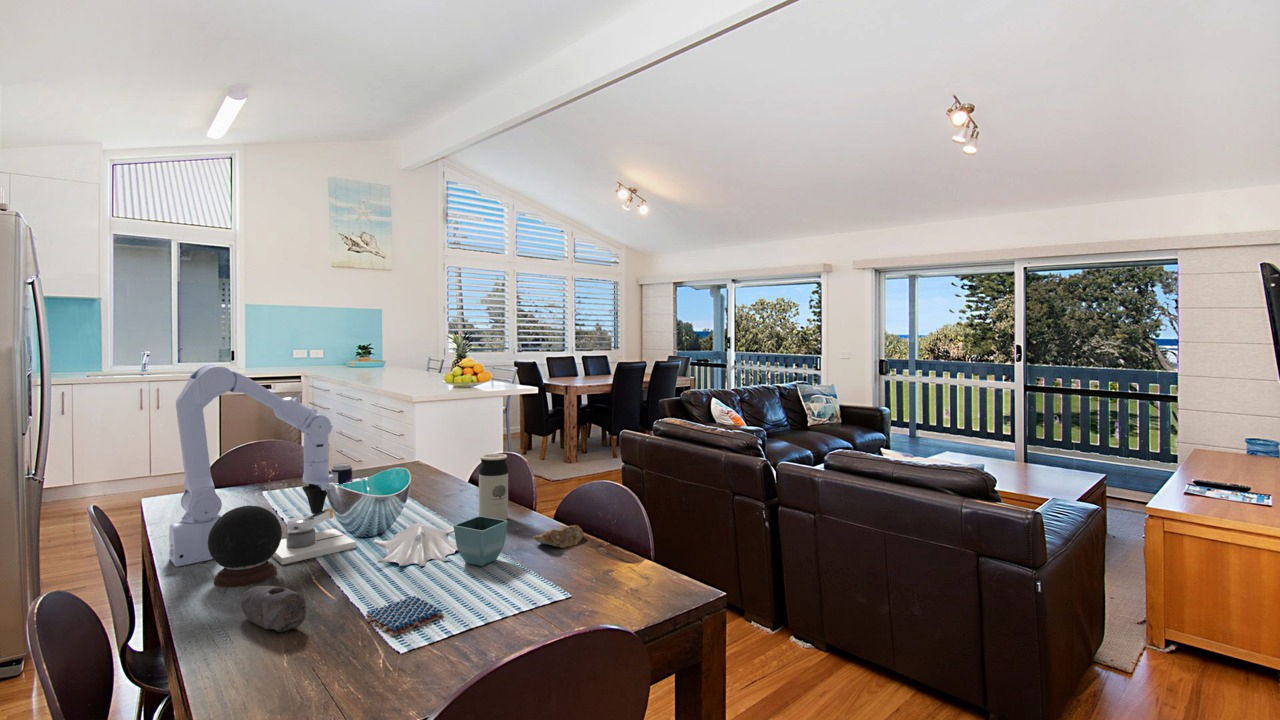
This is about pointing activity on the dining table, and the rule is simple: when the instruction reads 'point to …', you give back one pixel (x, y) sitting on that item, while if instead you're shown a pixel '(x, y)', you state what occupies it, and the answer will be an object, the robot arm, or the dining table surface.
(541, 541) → the decorative stone
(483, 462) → the travel mug
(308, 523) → the lever with orange knob
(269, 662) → the dining table surface
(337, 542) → the board
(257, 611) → the perforated stone tool
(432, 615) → the woven mat
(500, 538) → the flower pot
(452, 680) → the dining table surface
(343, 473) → the beverage can
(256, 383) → the robot arm
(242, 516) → the black egg on stand
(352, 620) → the dining table surface
